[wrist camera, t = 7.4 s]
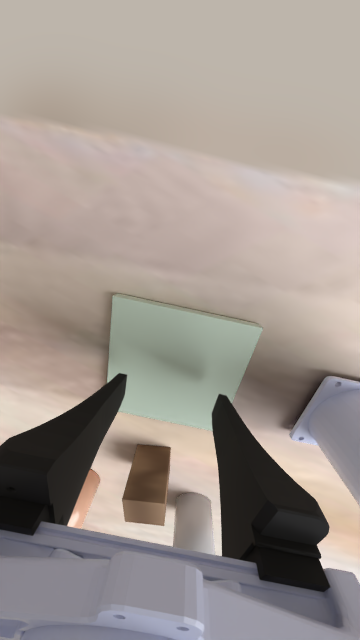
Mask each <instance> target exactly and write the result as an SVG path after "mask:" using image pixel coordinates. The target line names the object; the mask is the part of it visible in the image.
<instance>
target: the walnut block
mask: <svg viewBox="0 0 360 640" xmlns="http://www.w3.org/2000/svg"><path fill="white" fill-rule="evenodd" d="M170 450H171V447H161V446H150V445H140V444H138V445H137V449H136V452H135V456H134V459H133V463H132V466H131V470H130V473H129V477H128V481H127V484H126V488H125V491H124V495H123V498H122V502H123V509H124V517H125V522H134V523H143V524H152V525H161V526H164V522H165V512H166V502H167V492H168V482H169V471H170Z"/></svg>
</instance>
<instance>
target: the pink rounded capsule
mask: <svg viewBox="0 0 360 640" xmlns="http://www.w3.org/2000/svg"><path fill="white" fill-rule="evenodd" d="M99 483H100V478H99V476H98V475H97V474H96V473H95V472H94V471H92V470H91V469H90V470H89V473H88V475H87V477H86V480H85V482H84V485H83V487H82V490H81V492H80V495H79V497H78V500H77V502H76V505H75V507H74V510H73V512H72V515H71V517H70V520H69V523H68V525H67V526H69V527H74V528H79V529H81V527H82V524H83V522H84V520H85V517H86V515H87V512H88V510H89V508H90V505H91V503H92V500H93V498H94V495H95V493H96V491H97V488H98V486H99Z"/></svg>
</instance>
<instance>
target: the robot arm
mask: <svg viewBox="0 0 360 640" xmlns="http://www.w3.org/2000/svg"><path fill="white" fill-rule="evenodd" d="M126 382H127V374H122V373H119V374H117V375H116V376H115V377H114V378H113V379H112V380H111V381H109V382H108V383H107V384H106V385H105V386H103V387H102V388H101V389H100V390H98V391H97V392H96V393H94V394H93V395H92V396H90V397H89V398H87V399H86V400H85V401H83V402H82V403H80V404H78V405H77V406H75V407H74V408H72V409H70V410H69V411H67V412H65V413H63V414H62V415H60V416H58V417H56V418H54V419H52V420H50V421H48V422H46V423H44V424H42V425H40V426H37V427H35V428H33V429H31V430H28V431H26V432H23V433H21V434H18V435H16V436H13V437H11V438H9V439H8V440H6V441H5V442H4V443H3V444H2V445H1V446H0V640H360V584H359V582H358V580H357V578H356V576H355V575H354V574H353V573H352V572H347V571H342V570H337V569H331V568H327V569H323V568H322V566H321V563H320V561H319V559H320V558H321V554H320V552H319V549H318V547H317V544H318V543H319V542H320V541H321V540H322V539H324V538H325V537H326V535H327V534H328V532H329V524H328V522H327V520H326V518H325V516H324V514H323V512H322V511H321V509H320V507H319V505H318V503H317V501H316V500H315V499H314V498H313V497H312V496H311V495H310V494H309V493H308V492H306V491H305V490H304V489H303V488H302V487H301V486H300V485H298V484H297V483H296V482H295V481H294V480H293V479H292V478H291V477H290V476H289V475H288V474H287V473H286V472H285V471H284V470H283V469H282V468H281V467H280V466H279V465H278V464H277V463H276V462H275V461H274V460H273V459H272V458H271V457H270V455H269V454H268V453H267V452H266V451H265V450H264V449H263V447H262V446H261V445H260V444H259V443H258V441H257V440H256V439H255V438H254V436H253V435H252V434H251V432H250V431H249V429H248V428H247V427H246V425H245V424H244V422H243V421H242V419H241V418H240V416H239V415H238V413H237V412H236V410H235V408H234V407H233V405H232V403H231V402H230V400H229V399H228V397H227V395H222V394H219V395H218V397H217V400H216V403H215V405H214V408H213V411H212V429H213V436H214V442H215V449H216V455H217V462H218V470H219V484H220V502H221V527H222V556H217V555H212V554H207V553H202V552H197V551H192V550H186V549H181V548H176V547H171V546H166V545H161V544H156V543H151V542H145V541H140V540H135V539H130V538H125V537H120V536H115V535H110V534H105V533H99V532H94V531H89V530H84V529H79V528H74V527H69V526H67V525H68V523H69V520H70V517H71V515H72V512H73V510H74V507H75V505H76V502H77V500H78V497H79V495H80V492H81V490H82V487H83V485H84V482H85V480H86V477H87V475H88V473H89V470H90V468H91V466H92V463H93V461H94V458H95V456H96V454H97V452H98V449H99V447H100V445H101V443H102V441H103V439H104V437H105V435H106V433H107V431H108V429H109V427H110V425H111V424H112V422H113V420H114V418H115V416H116V414H117V412H118V410H119V408H120V406H121V404H122V401H123V399H124V396H125V390H126ZM289 435H290V437H291V439H292V440H294V441H299V442H303V443H308V444H313V445H318V446H319V447H320V448H321V450H322V451H323V453H324V454H325V456H326V457H327V459H328V460H329V462H330V463H331V465H332V466H333V468H334V469H335V471H336V472H337V473H338V475H339V476H340V478H341V479H342V481H343V482H344V484H345V485H346V487H347V488H348V490H349V491H350V493H351V494H352V496H353V497H354V499H355V500H356V501H357V503H358V504H359V506H360V382H358V381H354V380H349V379H344V378H340V377H335V376H327V377H326V378H325V379H324V380H323V382H322V383H321V385H320V386H319V388H318V390H317V391H316V393H315V394H314V396H313V397H312V399H311V401H310V402H309V404H308V405H307V407H306V408H305V410H304V412H303V413H302V415H301V416H300V418H299V419H298V421H297V423H296V424H295V426H294V427H293V429H292V431H291V432H290V434H289Z"/></svg>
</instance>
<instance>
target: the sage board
mask: <svg viewBox="0 0 360 640" xmlns="http://www.w3.org/2000/svg"><path fill="white" fill-rule="evenodd" d="M262 330H263V328H262V327H261V326H260V325H259V324H257V323H253V322H248V321H244V320H239V319H234V318H230V317H225V316H220V315H216V314H211V313H207V312H202V311H197V310H193V309H188V308H184V307H179V306H174V305H170V304H165V303H160V302H156V301H151V300H147V299H142V298H137V297H133V296H128V295H123V294H119V293H117V294H115V295H113V297H112V313H111V328H110V344H109V360H108V375H107V383H108V382H109V381H111V380H112V379H113V378H114V377H115V376H116V375H117V374H119V373H122V374H127V382H126V390H125V396H124V399H123V401H122V404H121V406H120V408H119V410H118V412H123V413H127V414H132V415H137V416H142V417H147V418H152V419H157V420H161V421H166V422H171V423H176V424H181V425H186V426H191V427H195V428H200V429H205V430H210V431H213V429H212V411H213V408H214V405H215V403H216V400H217V397H218V395H219V394H222V395H227V397H228V399H229V400H230V402H231V403H232V402H233V399H234V397H235V394H236V392H237V390H238V387H239V385H240V383H241V380H242V378H243V375H244V373H245V371H246V368H247V366H248V363H249V361H250V359H251V356H252V354H253V351H254V349H255V347H256V344H257V342H258V339H259V337H260V335H261V332H262Z"/></svg>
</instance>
